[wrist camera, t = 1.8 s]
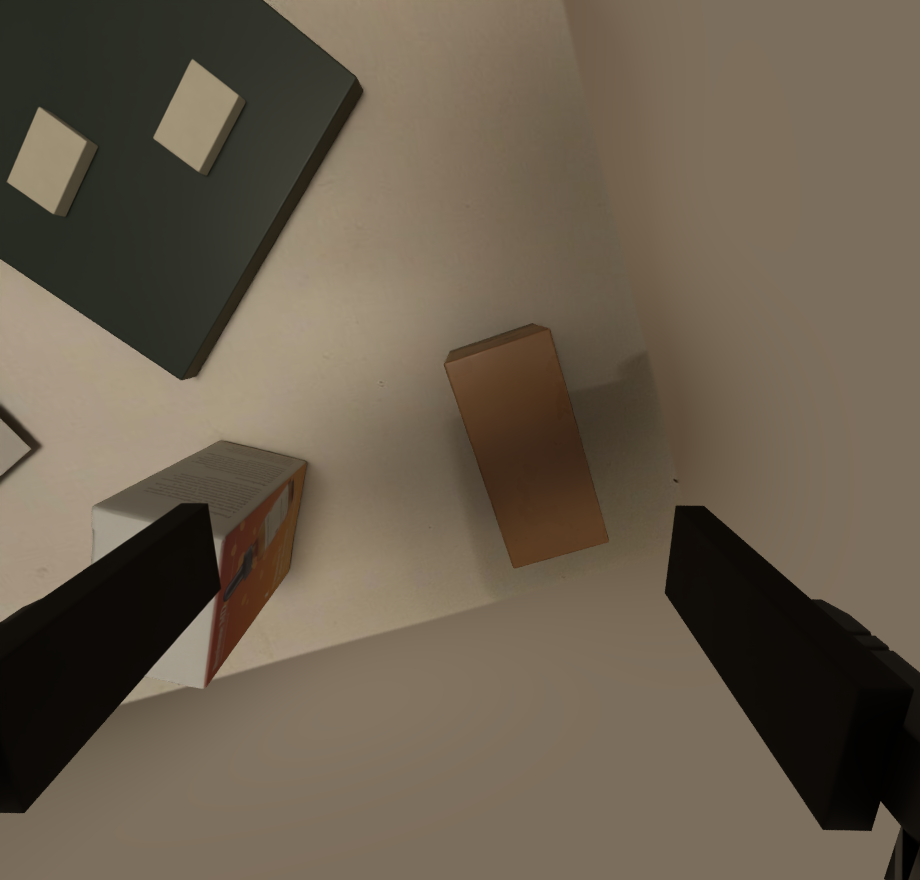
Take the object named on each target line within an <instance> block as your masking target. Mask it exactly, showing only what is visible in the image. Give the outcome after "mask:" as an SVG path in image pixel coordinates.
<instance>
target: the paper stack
mask: <svg viewBox="0 0 920 880" xmlns="http://www.w3.org/2000/svg"><path fill="white" fill-rule="evenodd" d="M29 450H31V448H30V447H29V446H28V445H27V444H26V443H25V442H24V441H23V440H22V439H21V438H20V437H19V436H18V435H17V434H16V433H15V432H14V431H13V430H12V429H11V428H10V427H9V426H8V425H7V424H6V423H5V422H4V421H3V420H2V419H1V418H0V476H1V475H2V474H3V473H4V472H5V471H7V470H8V469H9V468H10V467H11V466H12V465H13V464H15V463H16V462H17V461H18V460H19V459H20V458H21V457H23V456H24V455H25V454H26V453H27V452H28V451H29Z"/></svg>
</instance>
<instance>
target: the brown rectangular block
mask: <svg viewBox="0 0 920 880" xmlns="http://www.w3.org/2000/svg"><path fill="white" fill-rule="evenodd" d="M444 367H445V370H446V373H447V376H448V378H449V381H450V384H451V387H452V390H453V393H454V396H455V399H456V402H457V405H458V408H459V411H460V414H461V417H462V419H463V422H464V425H465V428H466V431H467V434H468V437H469V440H470V443H471V446H472V449H473V452H474V455H475V458H476V460H477V463H478V466H479V469H480V472H481V475H482V478H483V481H484V484H485V487H486V490H487V493H488V496H489V499H490V502H491V504H492V507H493V510H494V513H495V516H496V519H497V522H498V525H499V528H500V531H501V534H502V537H503V540H504V543H505V545H506V548H507V551H508V554H509V557H510V560H511V563H512V566H513V568H518V567H522V566H525V565H529V564H532V563H536V562H539V561H543V560H547V559H550V558H554V557H557V556H561V555H564V554H568V553H571V552H575V551H578V550H582V549H585V548H589V547H593V546H596V545H600V544H603V543H607V542H609V539H608V535H607V532H606V528H605V524H604V521H603V517H602V514H601V510H600V506H599V503H598V499H597V496H596V492H595V488H594V485H593V481H592V478H591V474H590V471H589V467H588V463H587V460H586V456H585V453H584V449H583V445H582V442H581V438H580V435H579V431H578V427H577V424H576V420H575V417H574V413H573V410H572V406H571V402H570V399H569V395H568V392H567V388H566V384H565V381H564V377H563V374H562V370H561V366H560V363H559V359H558V356H557V352H556V349H555V345H554V341H553V338H552V334H551V331H550V329H549V328H546V327H543V326H540V325H536V324H533V323H532V324H529V325H526V326H523V327H520V328H517V329H514V330H511V331H508V332H505V333H502V334H499V335H496V336H493V337H490V338H487V339H484V340H481V341H478V342H475V343H472V344H469V345H466V346H464V347H461V348H458V349H455V350H452V351H450V352H449V354H448V356H447V359H446V361H445V363H444Z"/></svg>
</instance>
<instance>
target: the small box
mask: <svg viewBox="0 0 920 880" xmlns="http://www.w3.org/2000/svg"><path fill="white" fill-rule="evenodd" d="M306 465H307V463H306V462H305V461H302V460H298V459H294V458H290V457H286V456H282V455H278V454H274V453H270V452H266V451H262V450H258V449H254V448H250V447H246V446H241V445H237V444H233V443H228V442H225V441H218V442H217V443H214V444H213V445H211V446H209V447H207V448H205V449H203V450H201V451H199V452H197V453H195V454H193V455H191V456H189V457H187V458H185V459H183V460H181V461H179V462H177V463H175V464H173V465H171V466H170V467H167V468H165V469H164V470H162V471H160V472H158V473H156V474H154V475H152V476H150V477H148V478H146V479H144V480H142V481H140V482H139V483H137V484H135V485H133V486H131V487H129V488H127V489H125V490H123V491H121V492H119V493H117V494H115V495H113V496H111V497H110V498H108V499H106V500H104V501H102V502H100V503H98V504H96V505H94V506H93V507H92V559H91V565H92V564H93V563H95V562H96V561H98V560H99V559H101V558H102V557H103V556H105V555H106V554H108V553H109V552H111V551H112V550H114V549H115V548H117V547H118V546H119V545H121V544H122V543H124V542H125V541H127V540H128V539H130V538H131V537H133V536H134V535H135V534H137V533H138V532H140V531H141V530H143V529H144V528H146V527H147V526H149V525H150V524H152V523H153V522H154V521H156V520H157V519H159V518H160V517H162V516H163V515H165V514H166V513H168V512H169V511H170V510H172V509H173V508H175V507H176V506H178V505H179V504H181V503H208V506H209V513H210V519H211V525H212V532H213V538H214V545H215V551H216V557H217V564H218V570H219V577H220V583H221V590H220V591H219V592H218V593H217V594H216V595H215V597H214V598H213V599H212V600H211V601H210V602H209V603H208V605H207V606H206V607H205V608H204V609H203V610H202V611H201V612H200V614H199V615H198V616H197V617H196V618H195V619H194V620H193V622H192V623H191V624H190V625H189V626H188V627H187V628H186V630H185V631H184V632H183V633H182V634H181V635H180V636H179V638H178V639H177V640H176V641H175V642H174V643H173V644H172V645H171V647H170V648H169V649H168V650H167V651H166V652H165V653H164V655H163V656H162V657H161V658H160V659H159V660H158V661H157V663H156V664H155V665H154V666H153V667H152V668H151V669H150V671H149V672H148V673H147V674H146V675H145V677H149V678H154V679H158V680H163V681H167V682H172V683H176V684H181V685H185V686H190V687H196V688H199V689H204V688H206V687H207V685H208V684H209V683H210V681H211V680H212V678H213V677H214V676H215V674H216V673H217V671H218V670H219V668H220V667H221V666H222V664H223V663H224V661H225V660H226V659H227V657H228V656H229V654H230V653H231V652H232V650H233V649H234V648H235V646H236V645H237V643H238V642H239V640H240V639H241V638H242V636H243V635H244V633H245V632H246V631H247V629H248V628H249V626H250V625H251V624H252V622H253V621H254V619H255V618H256V617H257V615H258V614H259V612H260V611H261V610H262V608H263V607H264V605H265V604H266V603H267V601H268V600H269V598H270V597H271V596H272V594H273V593H274V591H275V590H276V589H277V587H278V586H279V584H280V583H281V582H282V580H283V579H284V577H285V576H286V574H287V573H288V571H289V566H290V559H291V551H292V544H293V538H294V532H295V526H296V521H297V516H298V510H299V505H300V499H301V493H302V488H303V482H304V476H305V471H306Z"/></svg>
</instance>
